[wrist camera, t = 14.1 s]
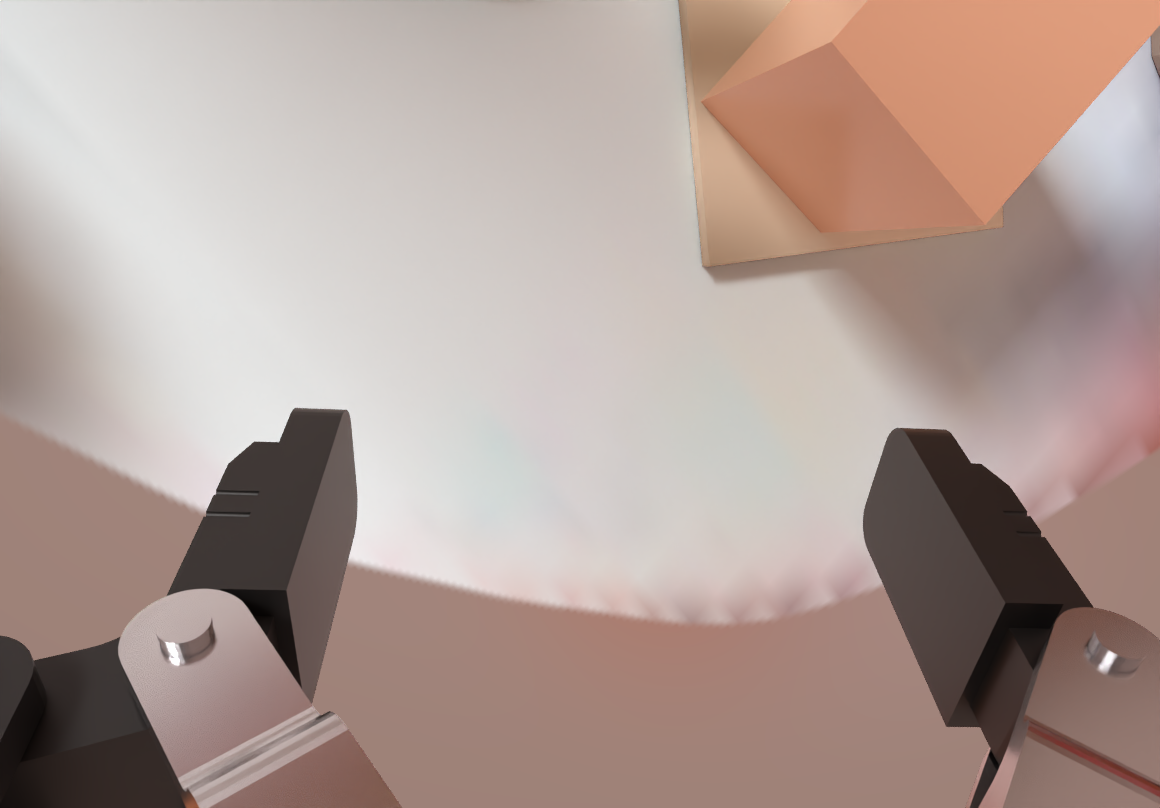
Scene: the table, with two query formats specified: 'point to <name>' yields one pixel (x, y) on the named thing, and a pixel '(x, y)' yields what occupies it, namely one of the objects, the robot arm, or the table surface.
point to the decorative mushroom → (1156, 48)
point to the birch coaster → (729, 174)
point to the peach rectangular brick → (919, 101)
